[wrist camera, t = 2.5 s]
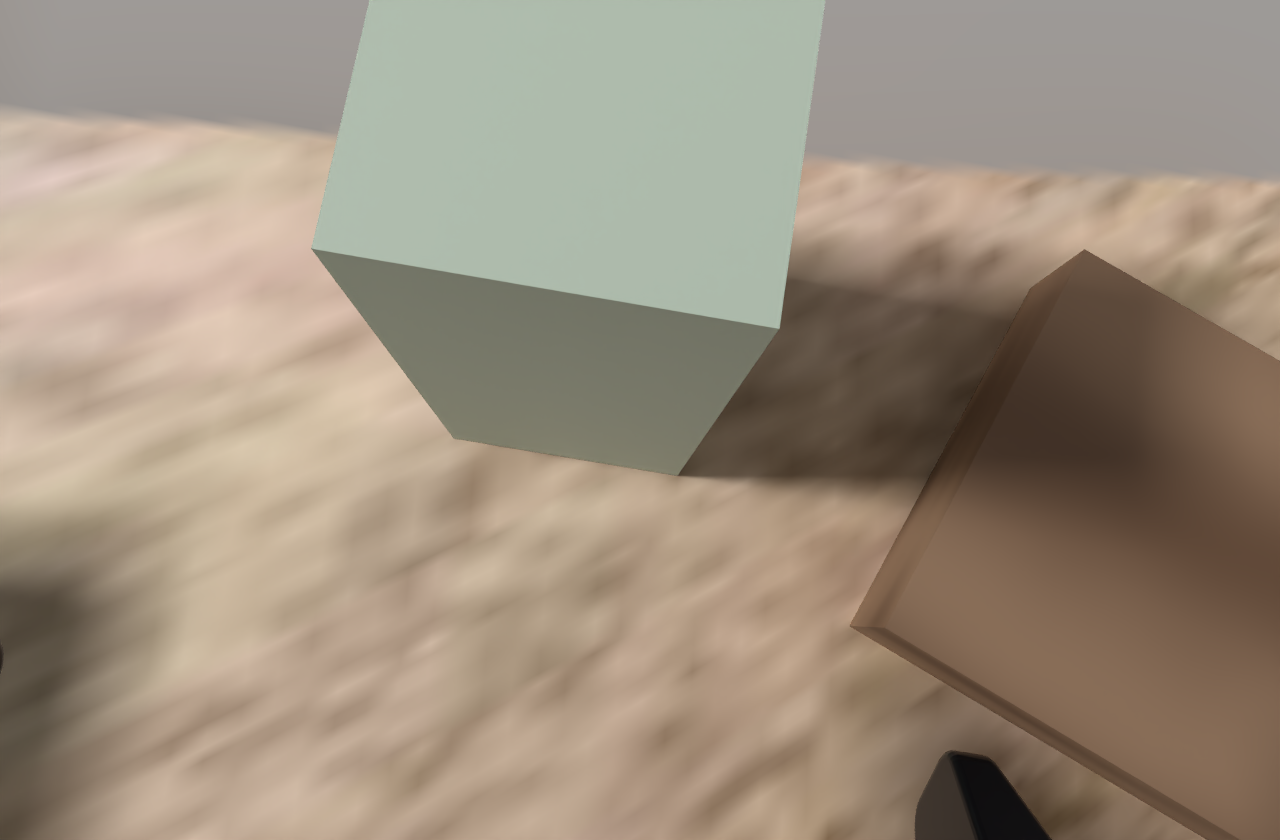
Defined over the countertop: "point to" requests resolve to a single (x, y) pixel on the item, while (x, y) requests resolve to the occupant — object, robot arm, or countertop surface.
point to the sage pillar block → (573, 210)
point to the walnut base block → (1110, 549)
